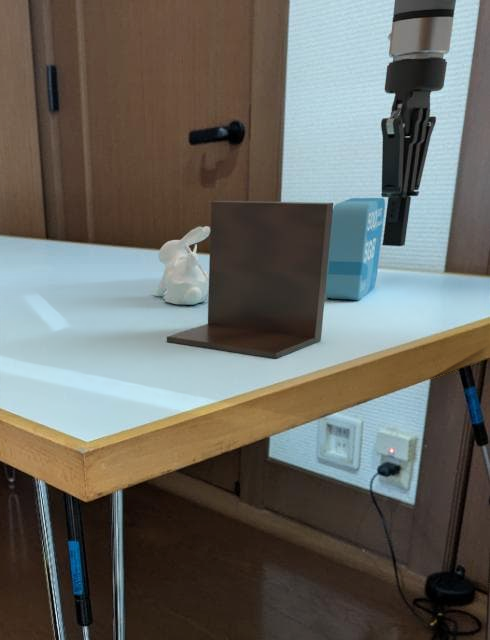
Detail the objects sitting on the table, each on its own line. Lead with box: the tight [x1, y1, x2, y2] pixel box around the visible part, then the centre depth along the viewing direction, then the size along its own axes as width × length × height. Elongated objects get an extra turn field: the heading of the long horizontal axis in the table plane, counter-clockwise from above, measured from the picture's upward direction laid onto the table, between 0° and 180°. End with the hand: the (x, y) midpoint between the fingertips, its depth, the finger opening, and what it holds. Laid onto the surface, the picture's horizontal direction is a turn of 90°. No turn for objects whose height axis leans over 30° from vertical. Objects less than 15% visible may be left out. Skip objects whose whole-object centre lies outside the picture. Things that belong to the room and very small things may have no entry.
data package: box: [325, 197, 386, 301], centre depth 109 cm, size 12×4×12 cm, turn 151°
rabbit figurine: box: [150, 225, 211, 306], centre depth 110 cm, size 12×8×10 cm, turn 12°
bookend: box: [166, 200, 334, 359], centre depth 86 cm, size 14×10×14 cm
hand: (393, 245), depth 118 cm, fingers closed
